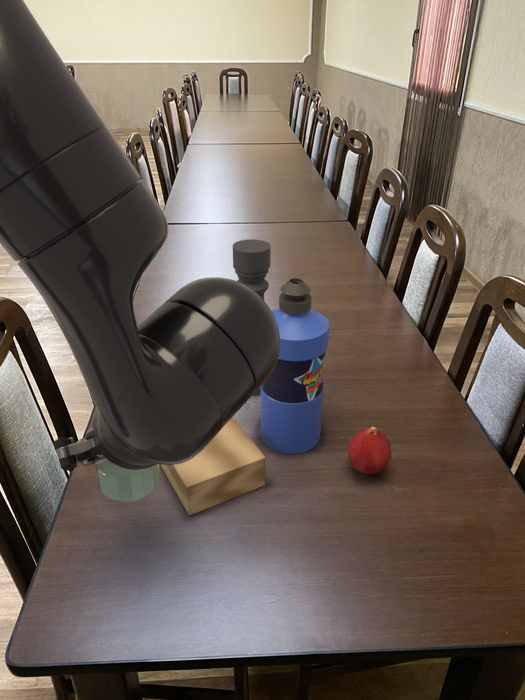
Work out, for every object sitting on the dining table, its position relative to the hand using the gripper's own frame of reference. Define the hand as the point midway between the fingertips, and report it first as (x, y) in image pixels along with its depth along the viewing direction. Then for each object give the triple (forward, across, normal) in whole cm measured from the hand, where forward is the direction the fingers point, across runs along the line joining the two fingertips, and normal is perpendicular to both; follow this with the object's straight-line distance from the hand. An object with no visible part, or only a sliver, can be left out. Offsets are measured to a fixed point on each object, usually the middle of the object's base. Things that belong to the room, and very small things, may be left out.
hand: (121, 444), depth 59 cm
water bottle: (+14, -26, +5) cm, 30 cm away
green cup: (+2, 0, +4) cm, 5 cm away
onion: (+6, -31, +14) cm, 34 cm away
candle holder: (+24, -27, -5) cm, 37 cm away
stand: (+13, -12, +6) cm, 19 cm away
